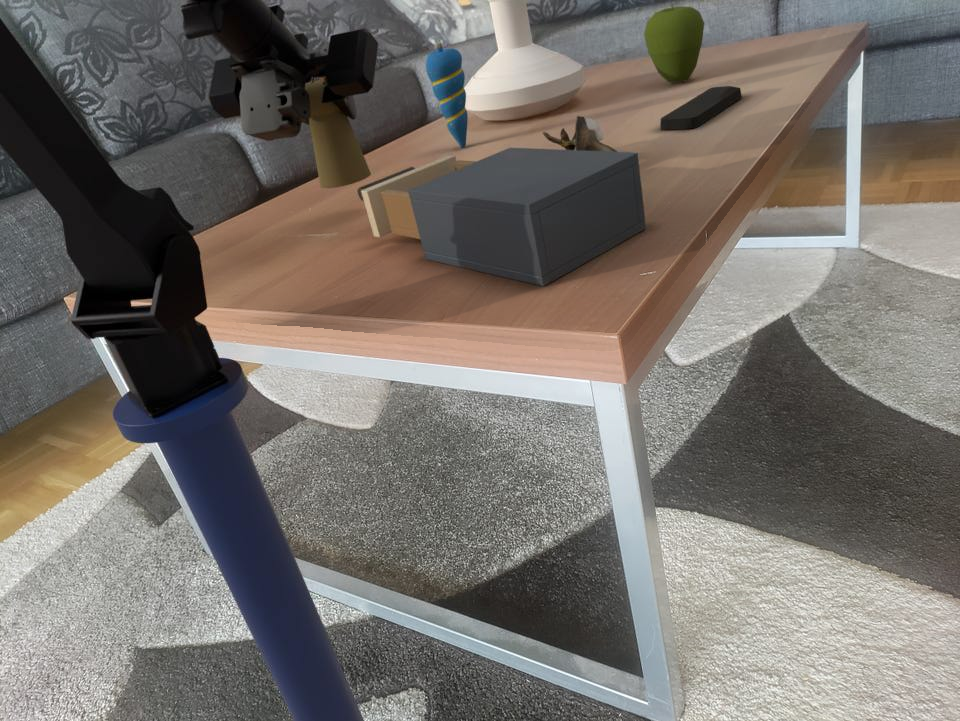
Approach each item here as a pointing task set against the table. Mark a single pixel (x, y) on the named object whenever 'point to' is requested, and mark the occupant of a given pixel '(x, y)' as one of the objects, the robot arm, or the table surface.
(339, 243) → the table surface
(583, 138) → the eagle figurine
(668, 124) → the remote control
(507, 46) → the candle holder
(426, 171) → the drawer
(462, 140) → the ornament
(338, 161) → the cork
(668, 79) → the apple
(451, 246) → the cabinet
